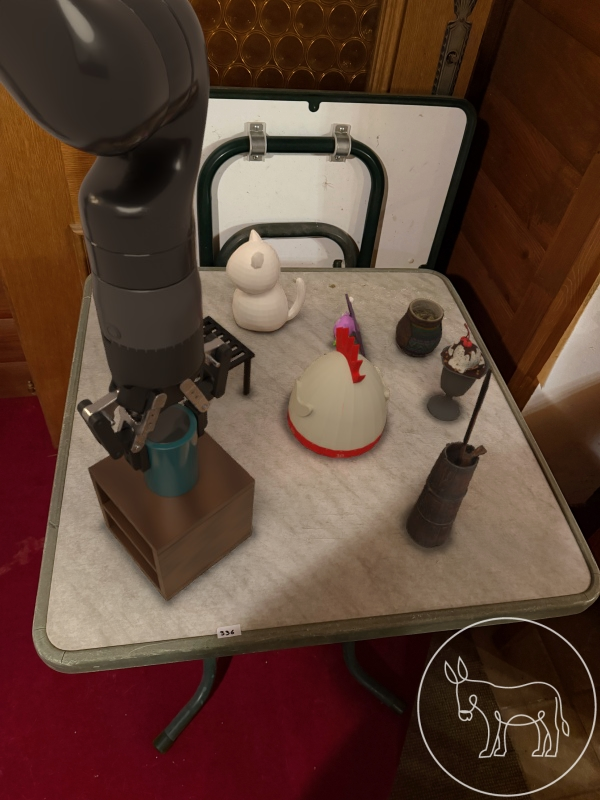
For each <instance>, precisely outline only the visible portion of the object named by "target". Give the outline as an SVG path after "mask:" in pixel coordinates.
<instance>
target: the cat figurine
mask: <svg viewBox="0 0 600 800" xmlns="http://www.w3.org/2000/svg"><path fill="white" fill-rule="evenodd" d="M262 239H263V238H262V237H261V236H260V234H259V233H258V232H257V231H256V230H255V229H251V231H250V233H249V239H248V241H246V242H244V243H242V244H241V245H240V246H239V247H238V248H236V250H234V251H233V253H232V254H231V255H230V256H229V259H228V260H227V262H226V267H225V272H226V276H227V277H228V279H229V281H230V282H231V284H233V286H234V287H235V290H234V293H233V295H232V303H231V304H232V305H231V306H232V315H233V318H234V320H235V323H236V324H237V325H238V326H239V327H240V328H242V329H245V330H249V331H256V332H274V331H277V330H278V329H280V328H282V327H283V326H284V325H285V323H286V322H289V321H291V320H292V319H294V318H295V317H296V316H297V315H298V314H299V313H300V312H301V310H302V308H303V306H304V303H305V301H306V298H307V297H306V296H307V286H306V282H305V281H304V279H303V278H302V277H297V278H296V279H295V287H296V296H295V300H294V302H293V304H292V306H291V307H290V308H289V301H288V298H287V295H286V292H285V291H284V289H283V287H282V285H281V283H280V282H279V280H280V277H281V274H282V273H281V271H282V268H281V260H280V257H279V254H278V253H277V251H276V249H275V248H274V247H273V246H272V245H271V244H270V243H269V242H266V241H265V240H262Z"/></svg>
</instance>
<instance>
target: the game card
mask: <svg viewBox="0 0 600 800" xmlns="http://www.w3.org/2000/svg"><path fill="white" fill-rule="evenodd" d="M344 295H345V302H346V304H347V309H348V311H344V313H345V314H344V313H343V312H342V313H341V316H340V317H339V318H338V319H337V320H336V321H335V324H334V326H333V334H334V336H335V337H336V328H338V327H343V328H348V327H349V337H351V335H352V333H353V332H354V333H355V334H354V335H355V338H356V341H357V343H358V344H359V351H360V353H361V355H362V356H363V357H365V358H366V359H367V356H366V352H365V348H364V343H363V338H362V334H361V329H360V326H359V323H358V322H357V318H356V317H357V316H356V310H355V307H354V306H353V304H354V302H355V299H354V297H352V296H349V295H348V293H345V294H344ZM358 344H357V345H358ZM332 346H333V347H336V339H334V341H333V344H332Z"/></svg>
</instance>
